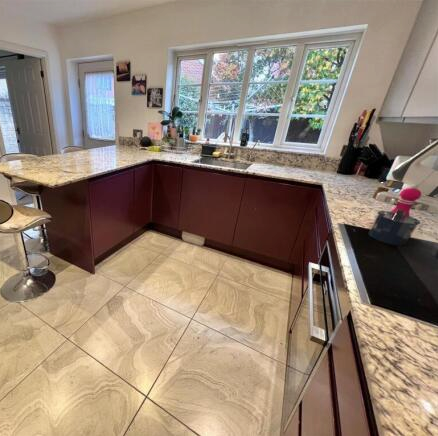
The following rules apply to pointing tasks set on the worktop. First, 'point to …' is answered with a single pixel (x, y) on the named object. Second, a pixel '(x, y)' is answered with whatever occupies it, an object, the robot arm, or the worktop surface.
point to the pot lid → (398, 217)
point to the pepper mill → (407, 199)
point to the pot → (391, 231)
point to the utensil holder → (382, 189)
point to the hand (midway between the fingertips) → (404, 205)
